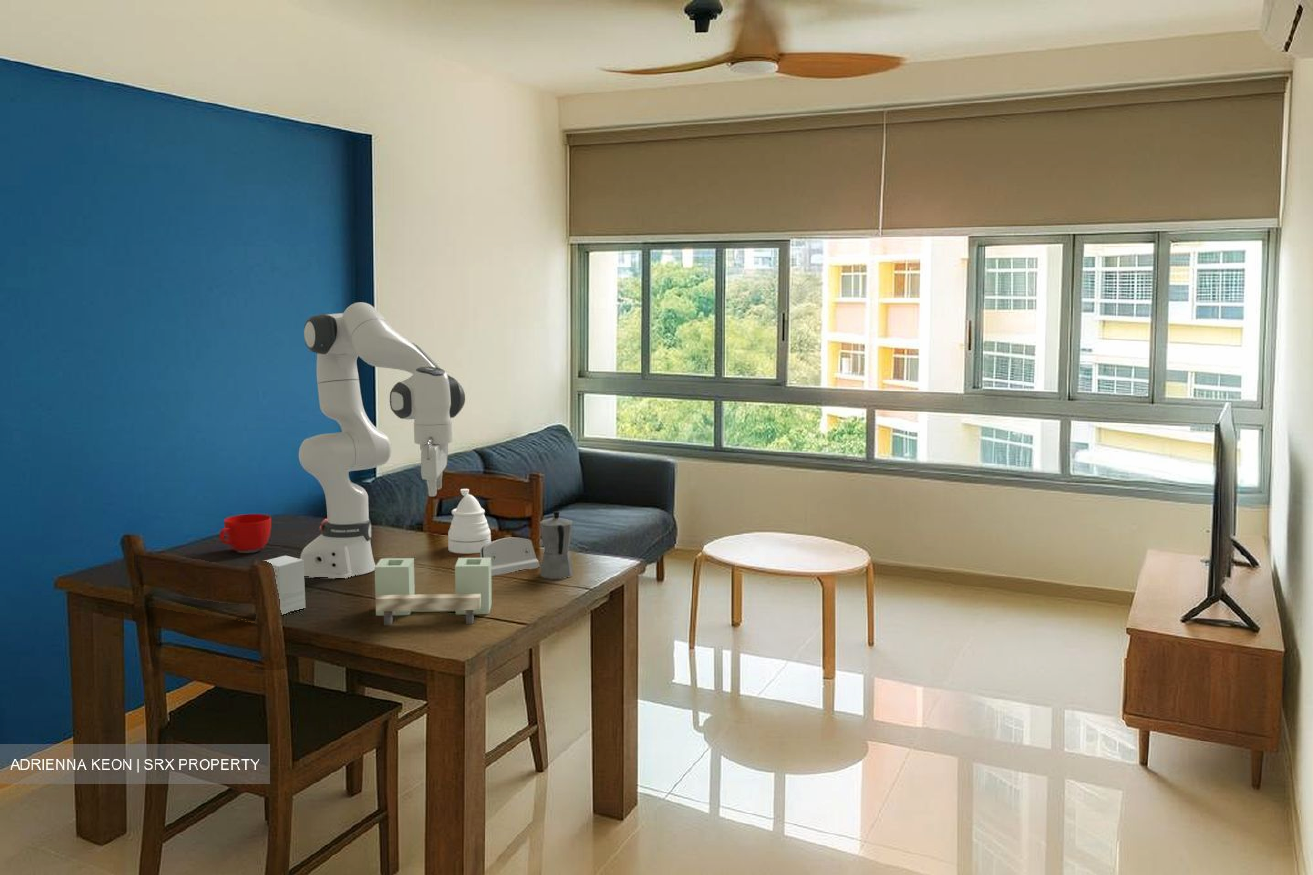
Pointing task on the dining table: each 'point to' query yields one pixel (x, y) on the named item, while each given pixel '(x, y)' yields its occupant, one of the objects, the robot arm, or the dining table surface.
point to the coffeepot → (556, 547)
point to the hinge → (510, 555)
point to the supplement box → (289, 582)
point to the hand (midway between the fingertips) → (435, 492)
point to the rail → (428, 604)
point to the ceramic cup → (247, 531)
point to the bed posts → (469, 579)
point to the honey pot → (468, 526)
